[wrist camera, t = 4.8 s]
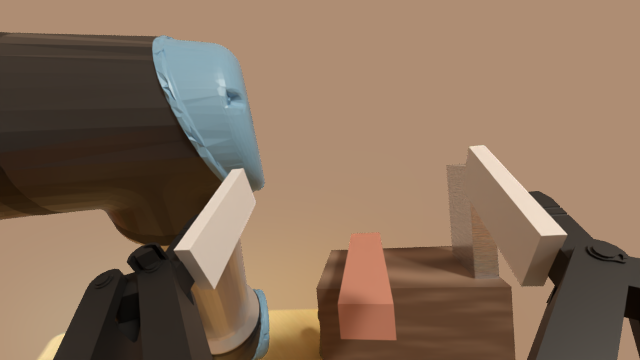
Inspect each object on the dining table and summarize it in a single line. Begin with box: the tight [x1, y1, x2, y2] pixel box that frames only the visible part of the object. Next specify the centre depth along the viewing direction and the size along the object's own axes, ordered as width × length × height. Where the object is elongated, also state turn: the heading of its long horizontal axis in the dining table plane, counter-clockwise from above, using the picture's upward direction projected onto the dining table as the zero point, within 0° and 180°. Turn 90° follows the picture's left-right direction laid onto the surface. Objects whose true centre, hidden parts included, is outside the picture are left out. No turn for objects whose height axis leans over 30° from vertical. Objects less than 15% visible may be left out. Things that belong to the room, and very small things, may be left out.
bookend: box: [447, 164, 499, 279], centre depth 34 cm, size 8×2×13 cm, turn 170°
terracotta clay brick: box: [338, 232, 396, 340], centre depth 32 cm, size 22×4×3 cm, turn 170°
